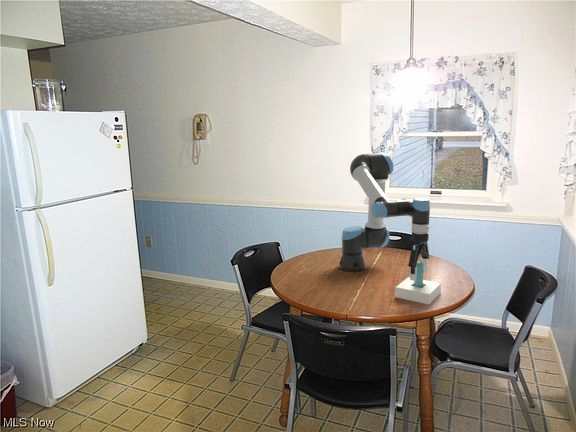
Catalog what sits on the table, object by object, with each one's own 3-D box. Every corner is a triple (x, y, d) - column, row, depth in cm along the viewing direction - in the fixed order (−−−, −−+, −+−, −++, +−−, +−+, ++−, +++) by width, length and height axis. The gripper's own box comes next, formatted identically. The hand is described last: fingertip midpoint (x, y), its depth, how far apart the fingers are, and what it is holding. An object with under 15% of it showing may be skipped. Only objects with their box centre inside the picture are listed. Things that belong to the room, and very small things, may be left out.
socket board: (395, 297, 200) (395, 287, 199) (408, 286, 212) (408, 277, 211) (429, 304, 190) (429, 294, 189) (440, 293, 203) (441, 283, 202)
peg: (412, 295, 201) (413, 263, 198) (415, 292, 204) (416, 261, 201) (420, 297, 199) (421, 264, 195) (423, 294, 202) (424, 262, 198)
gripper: (418, 239, 183) (416, 285, 188) (437, 227, 203) (435, 269, 207) (401, 237, 188) (400, 282, 192) (421, 225, 207) (420, 266, 212)
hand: (418, 275), depth 200 cm, fingers open, 13 cm apart
